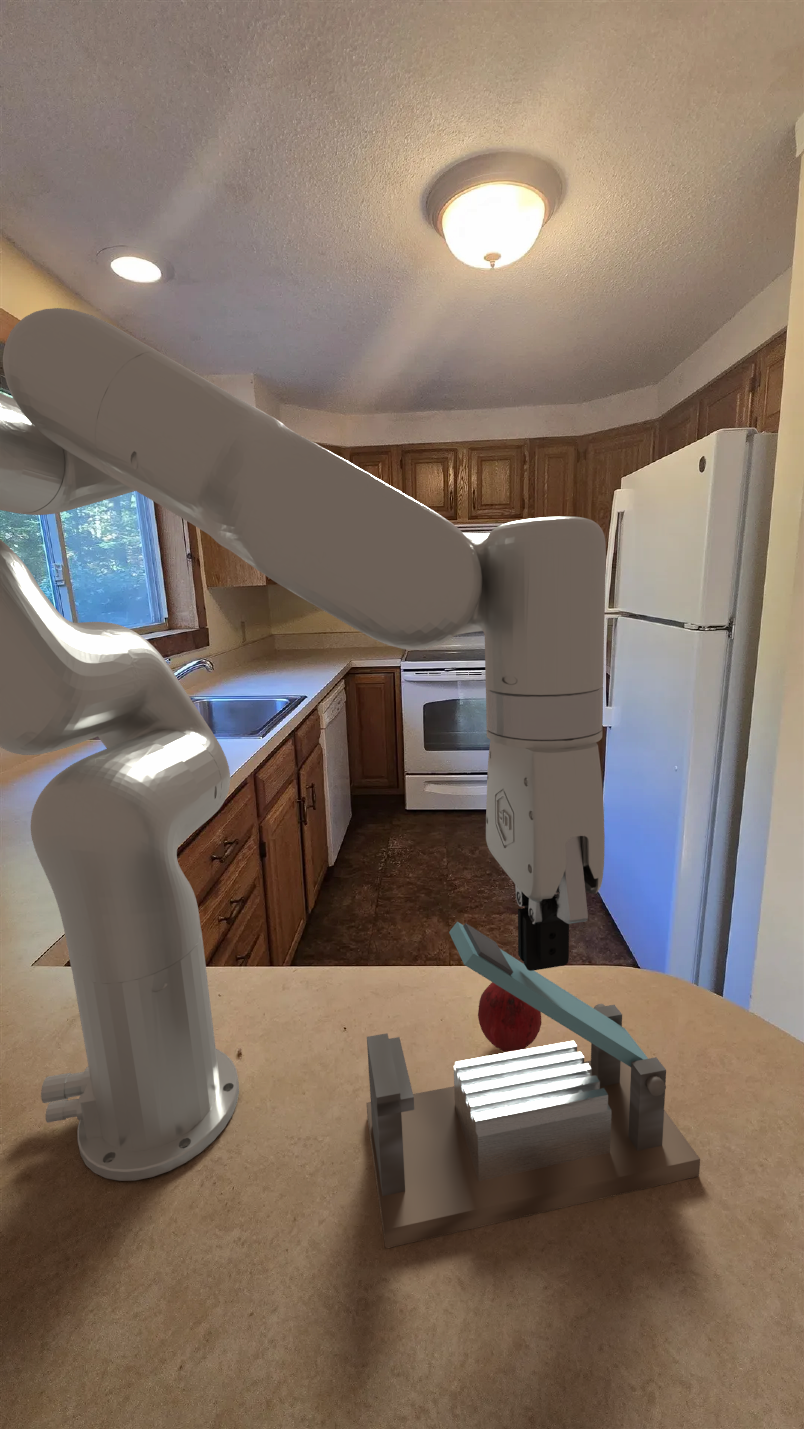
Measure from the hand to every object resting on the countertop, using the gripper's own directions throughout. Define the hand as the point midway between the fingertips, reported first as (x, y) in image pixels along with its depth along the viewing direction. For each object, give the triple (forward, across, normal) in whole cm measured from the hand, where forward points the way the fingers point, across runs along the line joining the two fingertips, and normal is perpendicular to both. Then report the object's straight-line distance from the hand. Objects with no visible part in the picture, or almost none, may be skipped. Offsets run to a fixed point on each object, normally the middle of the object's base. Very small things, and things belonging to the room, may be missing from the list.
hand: (543, 961), depth 42 cm
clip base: (+16, 0, -2) cm, 16 cm away
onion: (+16, -10, +1) cm, 19 cm away
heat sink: (+14, 0, -1) cm, 14 cm away
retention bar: (+4, 0, 0) cm, 4 cm away
